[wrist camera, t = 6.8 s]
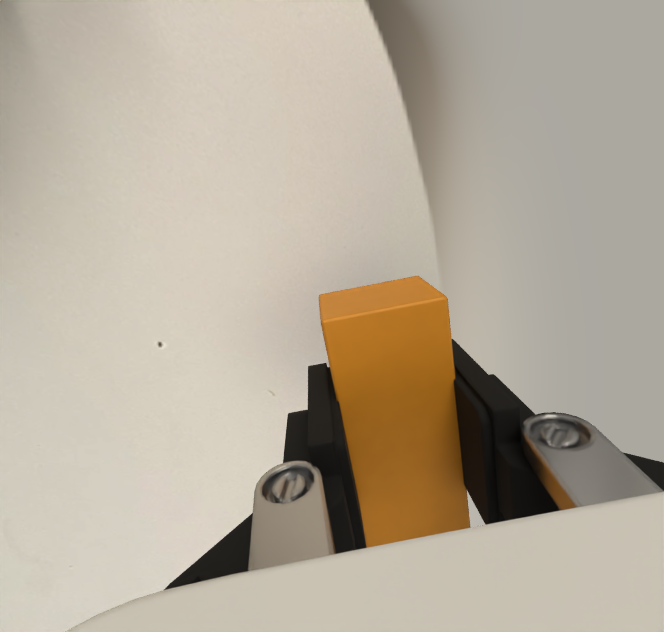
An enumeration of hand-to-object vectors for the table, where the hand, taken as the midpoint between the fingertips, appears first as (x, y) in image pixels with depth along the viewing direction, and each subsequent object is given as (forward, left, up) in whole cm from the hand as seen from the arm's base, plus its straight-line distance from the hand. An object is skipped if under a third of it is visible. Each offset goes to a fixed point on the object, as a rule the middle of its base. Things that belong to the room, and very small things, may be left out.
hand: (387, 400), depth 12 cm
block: (0, 0, 0) cm, 0 cm away
